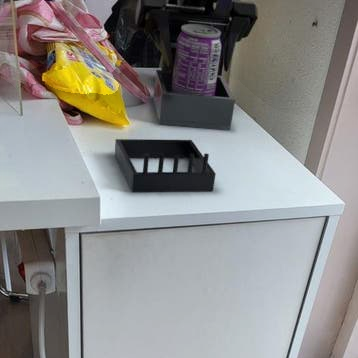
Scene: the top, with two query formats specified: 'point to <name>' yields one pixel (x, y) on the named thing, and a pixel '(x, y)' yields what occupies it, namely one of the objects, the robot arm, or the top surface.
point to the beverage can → (197, 60)
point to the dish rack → (160, 179)
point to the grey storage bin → (193, 105)
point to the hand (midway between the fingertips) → (198, 68)
